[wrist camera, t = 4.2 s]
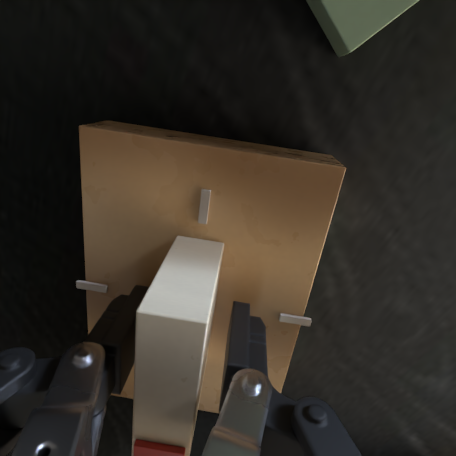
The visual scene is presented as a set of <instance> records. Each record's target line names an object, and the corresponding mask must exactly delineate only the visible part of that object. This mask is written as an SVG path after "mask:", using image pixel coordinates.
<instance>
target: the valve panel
mask: <svg viewBox="0 0 456 456" xmlns="http://www.w3.org/2000/svg"><path fill="white" fill-rule="evenodd" d="M79 143H80V165H81V187H82V209H83V231H84V253H85V275H86V281H82V280H77V281H76V288H79V289H85V290H86V297H87V319H88V334H89V333H90V332H91V330H92V329H93V327H94V326H95V324H96V323H97V321H98V320H99V318H101V315H102V314H103V313H104V311H106V308H107V307H108V305H109V304H110V302H111V301H112V300H113V299H115V298H116V297H118V296H119V295H121V294H123V295H130V293H131V291H132V290H133V288H134V287H135V285H141V286H147V287H149V286H150V284H151V283H152V281H153V279H154V277H155V275H156V273H157V272H158V270H159V268H160V266H161V264H162V262H163V260H164V259H165V257H166V255H167V253H168V251H169V249H170V248H171V246H172V244H173V242H174V240H175V238H176V237H177V236H184V237H191V238H197V239H203V240H209V241H216V242H222V243H224V250H223V256H222V263H221V270H220V276H219V283H218V289H217V296H216V303H215V309H214V316H213V323H212V329H211V336H210V342H209V349H208V356H207V362H206V367H205V373H204V379H203V384H202V390H201V395H200V401H199V406H198V410H202V411H208V412H214V413H220V412H219V403H220V394H221V385H222V377H223V368H224V359H225V350H226V342H227V335H228V328H229V323H230V317H231V311H232V306H233V301H238V302H244V303H250V316H256V317H261V319H262V321H263V323H264V324H265V326H266V345H267V367H268V378H269V380H270V382H271V384H272V386H273V387H274V388H275V389H276V390H277V391H278V392H279V393H281V391H282V387H283V384H284V380H285V377H286V374H287V370H288V367H289V363H290V360H291V356H292V353H293V350H294V346H295V343H296V339H297V336H298V332H299V329H300V326H301V325H304V326H310V324H311V321H312V320H311V318H308V317H303V315H304V312H305V308H306V305H307V302H308V298H309V295H310V291H311V288H312V284H313V281H314V277H315V274H316V271H317V267H318V264H319V260H320V257H321V253H322V250H323V247H324V243H325V240H326V236H327V233H328V229H329V226H330V223H331V219H332V216H333V212H334V209H335V205H336V202H337V199H338V195H339V192H340V188H341V185H342V181H343V178H344V174H345V171H346V167H345V166H344V165H342V164H341V163H340V162H339V161H338V160H336V159H335V158H334V157H333V156H332V155H327V154H321V153H314V152H308V151H301V150H295V149H288V148H282V147H276V146H269V145H263V144H256V143H250V142H243V141H237V140H231V139H224V138H218V137H211V136H205V135H198V134H192V133H186V132H179V131H173V130H166V129H160V128H153V127H147V126H140V125H134V124H128V123H121V122H115V121H108V120H107V121H102V122H97V123H91V124H86V125H81V126H79ZM111 395H114V396H120V397H126V398H132V399H133V396H134V365H133V367H132V369H131V372H130V374H129V376H128V378H127V381H126V383H125V385H124V387H123V390H122V392H121V394H120V395H118V394H112V393H111Z"/></svg>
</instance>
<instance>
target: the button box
mask: <svg viewBox="0 0 456 456" xmlns="http://www.w3.org/2000/svg"><path fill="white" fill-rule="evenodd" d="M306 1H307V3H308V5H309V6H310V8H311V10H312V12H313V14H314V15H315V17H316V19H317V21H318V22H319V24H320V26H321V28H322V29H323V31H324V33H325V35H326V37H327V38H328V40H329V42H330V44H331V45H332V47H333V49H334V51H335V53H336V54H337V56H338V57H341V56H343V55H346V54H348V53H350V52H352V51H353V50H355V49H356V48H357V47H359V46H360V45H361V44H363V43H364V42H365V41H367V40H368V39H369V38H371V37H372V36H373V35H375V34H376V33H377V32H378V31H380V30H381V29H382V28H384V27H385V26H386V25H388V24H389V23H390V22H392V21H393V20H394V19H396V18H397V17H398V16H400V15H401V14H402V13H403V12H405V11H406V10H407V9H409V8H410V7H411V6H413V5H414V4H415V3H417V2H418V1H419V0H306Z"/></svg>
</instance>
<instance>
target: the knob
mask: <svg viewBox="0 0 456 456" xmlns="http://www.w3.org/2000/svg"><path fill="white" fill-rule="evenodd" d="M223 250H224V243H222V242H216V241H209V240H203V239H197V238H191V237H184V236H177V237H176V238H175V240H174V242H173V244H172V246H171V248H170V249H169V251H168V253H167V255H166V257H165V259H164V260H163V262H162V264H161V266H160V268H159V270H158V272H157V273H156V275H155V277H154V279H153V281H152V283H151V284H150V286H149V288H148V290H147V292H146V294H145V296H144V297H143V299H142V301H141V303H140V305H139V307H138V308H137V310H136V330H135V363H134V396H133V430H132V456H190V451H191V445H192V440H193V434H194V429H195V423H196V418H197V412H198V406H199V401H200V395H201V390H202V384H203V379H204V373H205V367H206V362H207V356H208V349H209V342H210V336H211V329H212V323H213V316H214V309H215V303H216V296H217V289H218V283H219V276H220V270H221V263H222V256H223Z"/></svg>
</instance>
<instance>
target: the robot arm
mask: <svg viewBox="0 0 456 456" xmlns="http://www.w3.org/2000/svg"><path fill="white" fill-rule="evenodd" d="M148 288H149V287H147V286H141V285H135V287H134V288H133V290H132V291H131V293H130V295H123V294H121V295H119V296H118V297H116V298H115V299H113V300H112V301H111V302H110V304H109V305H108V307H107V308H106V311H104V313H103V314H102V315H101V318H99V320H98V321H97V323H96V324H95V326H94V327H93V329H92V330H91V332H90V333H89V334H88V336H87V337H86V339H85V340H84V342H83V343H79V344H76V345H74V346H72V347H70V348H69V349H68V350H67V351H65V353H64V354H63V356H59V357H52V358H41V359H36V358H35V354H34V352H33V351H32V350H30V349H28V348H24V347H15V348H10V349H7V350H4V351H2V352H0V456H6V455H7V454H8V453H9V452H10V451H11V450H12V449H14V451H13V453H12V455H11V456H96V454H97V450H98V445H99V441H100V436H101V431H102V427H103V422H104V417H105V413H106V404H107V402H108V400H109V397H110V395H111V393H112V394H118V395H120V394H121V392H122V390H123V387H124V385H125V383H126V381H127V378H128V376H129V374H130V372H131V369H132V367H133V365H134V363H135V330H136V310H137V308H138V307H139V305H140V303H141V301H142V299H143V297H144V296H145V294H146V292H147V290H148ZM219 412H220V414H219V417H218V420H217V422H216V425H215V427H213V428H212V430H211V432H210V435H209V437H208V440H207V442H206V445H205V448H204V451H203V453H202V456H362V455H361V453H360V452H359V450H358V449H357V447H356V445H355V444H354V442H353V441H352V439H351V437H350V436H349V434H348V433H347V431H346V429H345V428H344V426H343V425H342V423H341V421H340V420H339V418H338V416H337V415H336V413H335V412H334V410H333V409H332V408H331V407H330V406H329V405H328V404H327V403H326V402H324V401H323V400H321V399H319V398H316V397H311V396H307V397H303V398H301V399H299V400H298V401H297V402H296V401H294V400H292V399H290V398H288V397H286V396H284V395H282V394H281V393H279V392H278V391H277V390H276V389H275V388H274V387H273V386H272V384H271V382H270V380H269V378H268V367H267V345H266V326H265V324H264V323H263V321H262V319H261V317H256V316H250V303H244V302H238V301H233V306H232V311H231V317H230V323H229V328H228V335H227V342H226V350H225V359H224V368H223V377H222V385H221V394H220V403H219Z"/></svg>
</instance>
